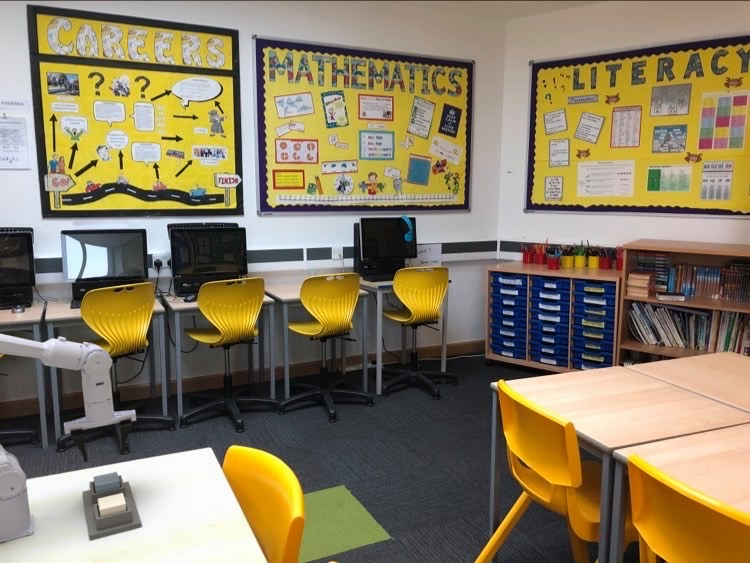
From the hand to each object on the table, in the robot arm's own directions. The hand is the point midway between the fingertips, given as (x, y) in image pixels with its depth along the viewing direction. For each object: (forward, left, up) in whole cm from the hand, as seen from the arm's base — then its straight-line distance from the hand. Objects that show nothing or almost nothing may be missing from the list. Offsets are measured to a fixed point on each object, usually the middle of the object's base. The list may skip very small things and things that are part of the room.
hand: (104, 456), depth 139 cm
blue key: (0, 0, -7) cm, 7 cm away
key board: (0, -6, -11) cm, 12 cm away
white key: (0, -11, -8) cm, 13 cm away
